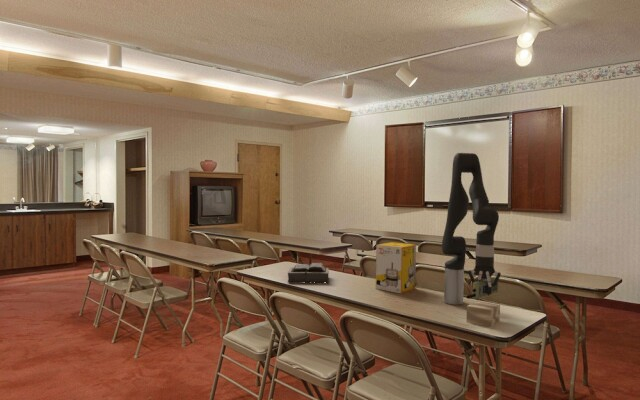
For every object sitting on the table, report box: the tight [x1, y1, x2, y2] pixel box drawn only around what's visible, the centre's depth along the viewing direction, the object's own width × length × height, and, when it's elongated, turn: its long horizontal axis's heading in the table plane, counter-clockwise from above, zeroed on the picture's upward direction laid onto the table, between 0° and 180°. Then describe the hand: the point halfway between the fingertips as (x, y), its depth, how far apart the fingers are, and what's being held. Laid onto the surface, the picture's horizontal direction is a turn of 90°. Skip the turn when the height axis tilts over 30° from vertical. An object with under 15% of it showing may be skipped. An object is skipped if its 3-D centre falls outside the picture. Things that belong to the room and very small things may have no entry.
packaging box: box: [375, 241, 417, 294], centre depth 254 cm, size 16×16×25 cm
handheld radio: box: [466, 276, 500, 300], centre depth 194 cm, size 7×3×25 cm
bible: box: [287, 262, 330, 284], centre depth 274 cm, size 23×27×10 cm
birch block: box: [465, 300, 501, 328], centre depth 194 cm, size 12×10×7 cm
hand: (483, 294), depth 194 cm, fingers closed on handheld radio, 3 cm apart
